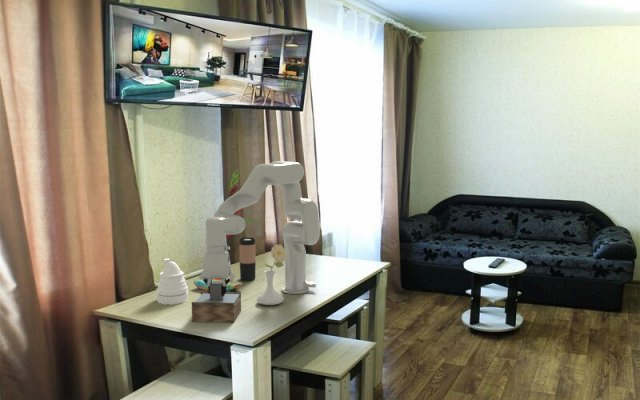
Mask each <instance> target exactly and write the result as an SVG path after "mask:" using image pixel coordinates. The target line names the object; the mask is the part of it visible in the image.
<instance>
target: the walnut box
mask: <svg viewBox="0 0 640 400" xmlns="http://www.w3.org/2000/svg"><path fill="white" fill-rule="evenodd" d="M202 293H208V291H201V292H200V296H201V295H202ZM226 294H240V297H239V298H238V300H237V301H236V303H235V304H234V303H223V302H195V301H192V302H191V319H192V320H191V321H192V323H230V324H231V323H233V324H234V323H235V321H236V320H237V319H238V317H239V315H240V314H241V313H242V292H233V291H229V292H226Z"/></svg>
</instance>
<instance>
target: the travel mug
mask: <svg viewBox="0 0 640 400" xmlns="http://www.w3.org/2000/svg"><path fill="white" fill-rule="evenodd" d="M256 263H257V262H256V239H255V238H254V237H251V236H250V237H249V236H248V237H247V236H246V237H241V238H239V273H240V281H243V282H252V281H255V280H256Z"/></svg>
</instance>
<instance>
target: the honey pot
mask: <svg viewBox="0 0 640 400" xmlns="http://www.w3.org/2000/svg"><path fill="white" fill-rule="evenodd" d="M163 262H164V263H165V267H164V269H163V271H162V272H161V271H160V273H159V275H158V276H159V277H160V279H159V282H158V285H157V288H156V301H157V303H158V304H160V303H161V304H160V305H167V304H169V305H179V304H182V303H185V302H188V300H189V286H188V285H187V282H186V278H185V277H184V275H185V274H184V271H183V270H181V269H180V267H179V266H178V264H177V263H176V262H174V261H171V258H164V259H163Z"/></svg>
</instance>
